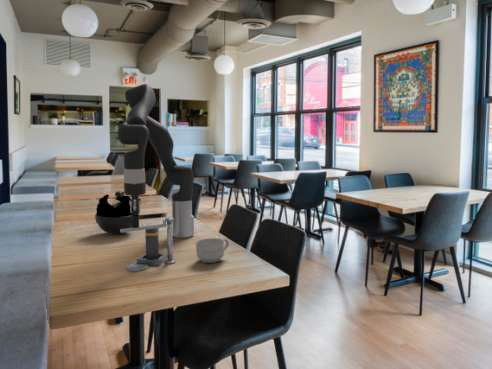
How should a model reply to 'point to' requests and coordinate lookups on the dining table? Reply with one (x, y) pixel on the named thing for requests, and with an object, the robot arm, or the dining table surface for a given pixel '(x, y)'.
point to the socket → (158, 261)
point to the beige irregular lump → (117, 197)
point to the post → (169, 244)
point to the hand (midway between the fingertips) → (135, 228)
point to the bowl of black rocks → (114, 215)
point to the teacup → (211, 249)
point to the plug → (152, 243)
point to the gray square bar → (147, 226)
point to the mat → (136, 267)
